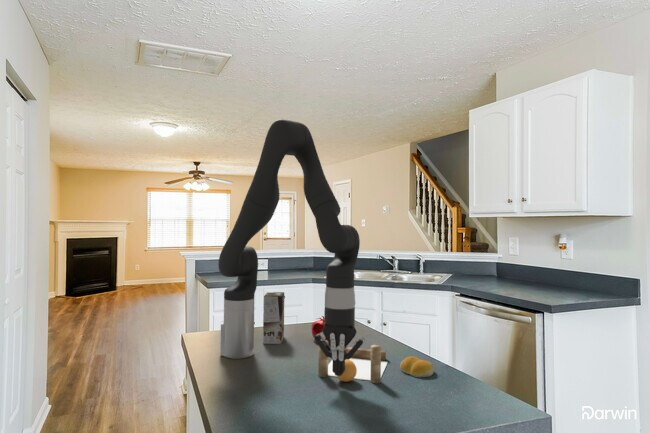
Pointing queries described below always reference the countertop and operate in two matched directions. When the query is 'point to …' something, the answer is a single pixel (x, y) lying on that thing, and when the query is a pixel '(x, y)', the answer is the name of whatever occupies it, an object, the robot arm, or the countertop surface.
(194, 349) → the countertop surface
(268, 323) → the coffee box
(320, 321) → the pomegranate
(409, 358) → the bread roll
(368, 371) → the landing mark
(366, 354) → the stopper rail
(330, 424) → the countertop surface
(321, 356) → the post
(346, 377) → the ball
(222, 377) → the countertop surface
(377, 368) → the post
